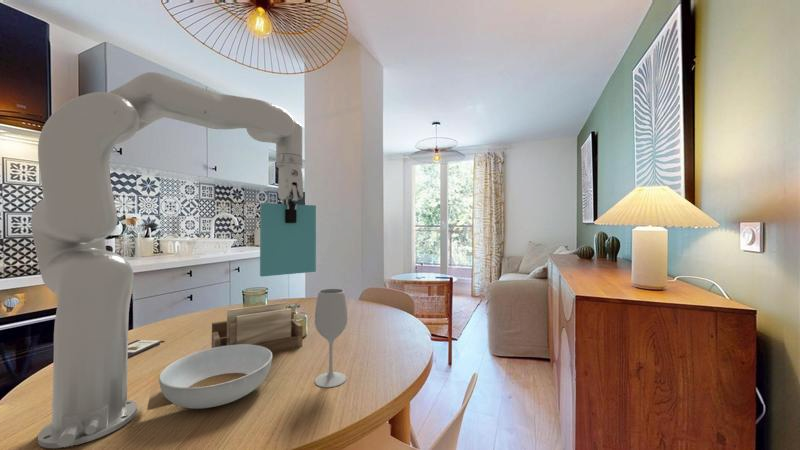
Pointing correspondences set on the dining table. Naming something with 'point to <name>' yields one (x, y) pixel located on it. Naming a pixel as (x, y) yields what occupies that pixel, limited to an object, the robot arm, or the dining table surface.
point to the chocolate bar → (141, 346)
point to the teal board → (287, 240)
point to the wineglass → (330, 329)
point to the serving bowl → (212, 364)
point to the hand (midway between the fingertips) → (289, 222)
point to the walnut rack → (276, 345)
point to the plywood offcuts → (258, 324)
